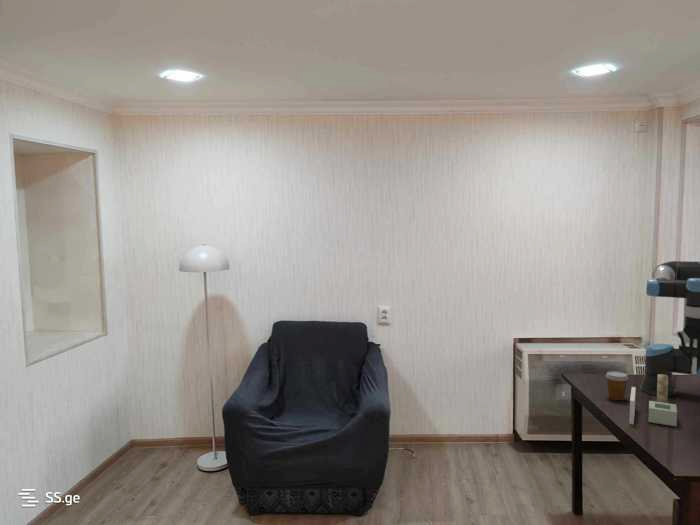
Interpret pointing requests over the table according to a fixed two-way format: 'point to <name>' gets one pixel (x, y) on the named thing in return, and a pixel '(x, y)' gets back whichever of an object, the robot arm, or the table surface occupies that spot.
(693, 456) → the table surface
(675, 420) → the sage green block
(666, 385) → the birch dowel
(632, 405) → the pale wall board
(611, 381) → the disposable coffee cup
